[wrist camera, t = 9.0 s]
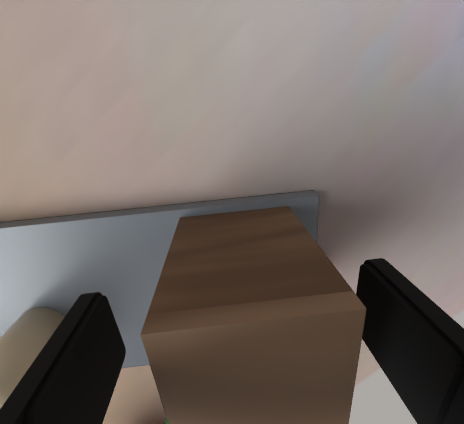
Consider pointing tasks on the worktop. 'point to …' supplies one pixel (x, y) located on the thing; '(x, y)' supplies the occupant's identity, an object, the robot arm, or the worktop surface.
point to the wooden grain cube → (252, 324)
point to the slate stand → (98, 270)
